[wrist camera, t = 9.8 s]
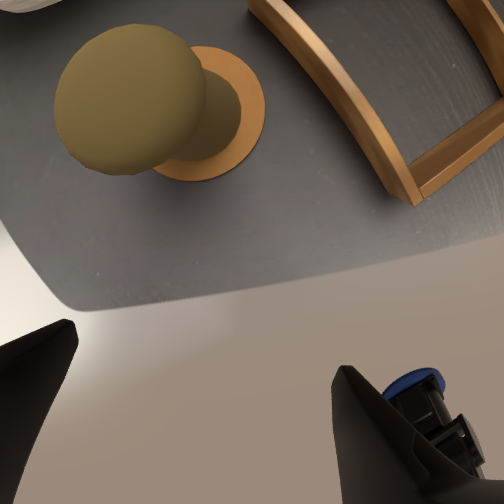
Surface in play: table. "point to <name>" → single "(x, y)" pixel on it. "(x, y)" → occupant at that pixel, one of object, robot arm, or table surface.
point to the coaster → (249, 126)
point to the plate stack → (25, 5)
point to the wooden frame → (366, 120)
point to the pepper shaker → (142, 102)
